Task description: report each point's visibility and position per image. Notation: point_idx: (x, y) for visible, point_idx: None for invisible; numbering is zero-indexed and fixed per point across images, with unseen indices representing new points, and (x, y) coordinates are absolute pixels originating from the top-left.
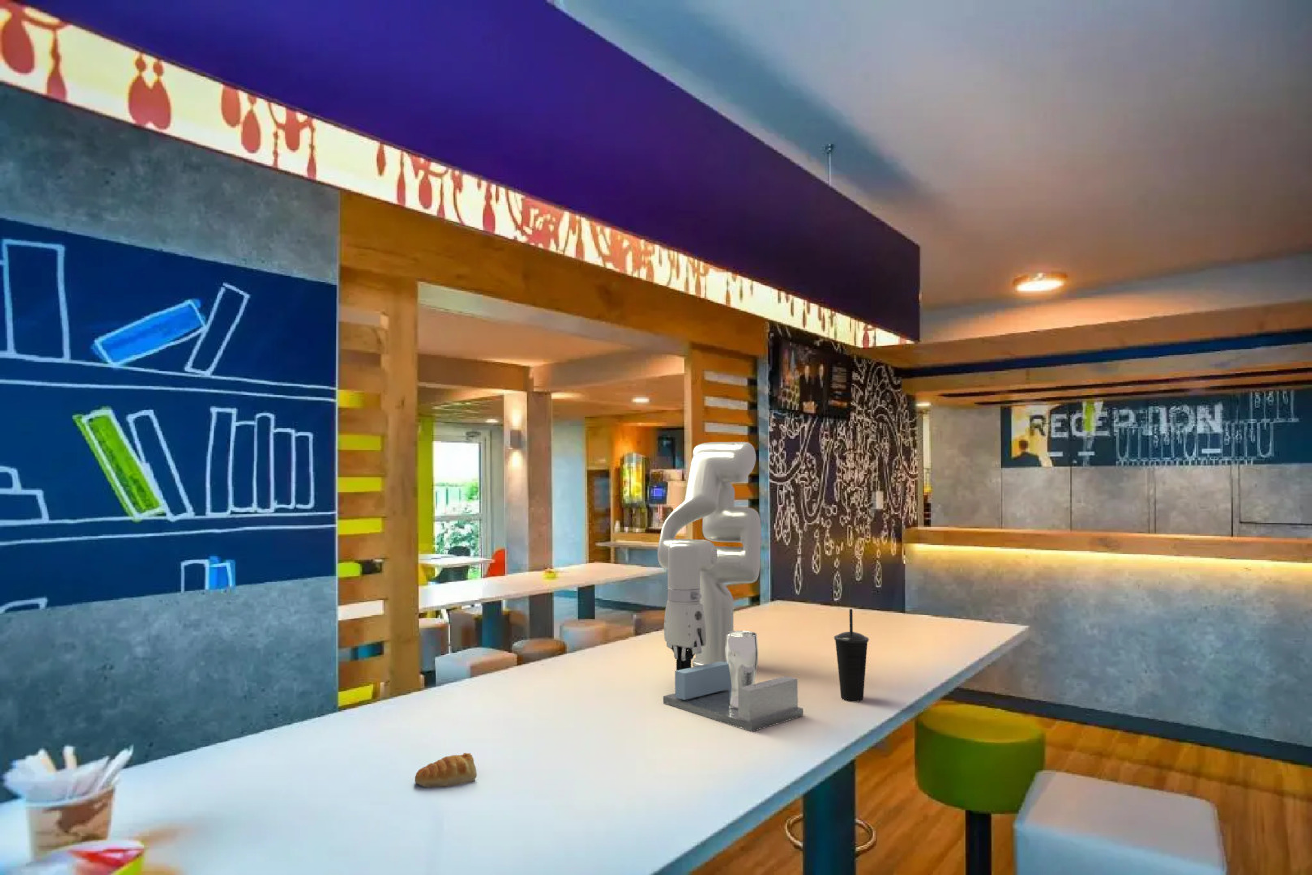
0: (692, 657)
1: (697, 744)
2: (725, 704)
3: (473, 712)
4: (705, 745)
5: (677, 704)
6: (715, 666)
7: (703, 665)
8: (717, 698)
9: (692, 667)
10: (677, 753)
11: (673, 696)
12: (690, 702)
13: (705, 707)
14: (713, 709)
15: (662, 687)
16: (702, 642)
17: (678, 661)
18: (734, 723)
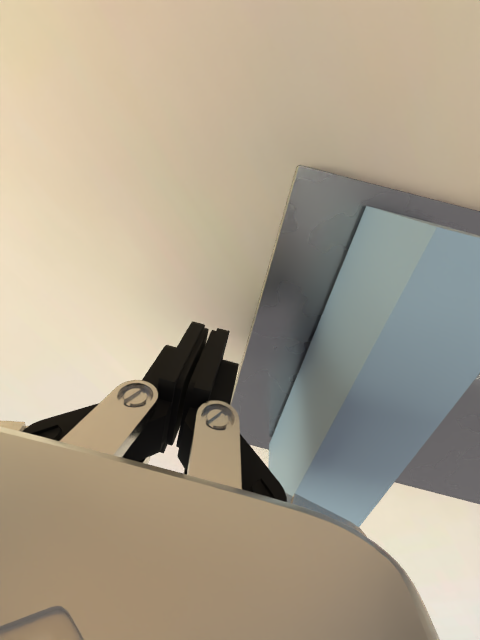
0: (237, 426)
1: (455, 588)
2: (474, 428)
3: None
4: (474, 588)
5: None
6: (444, 408)
7: (347, 421)
8: None
9: (306, 479)
10: (432, 616)
11: (252, 427)
12: None
13: (410, 474)
14: (445, 481)
15: (82, 265)
16: (332, 550)
17: (169, 442)
18: None
